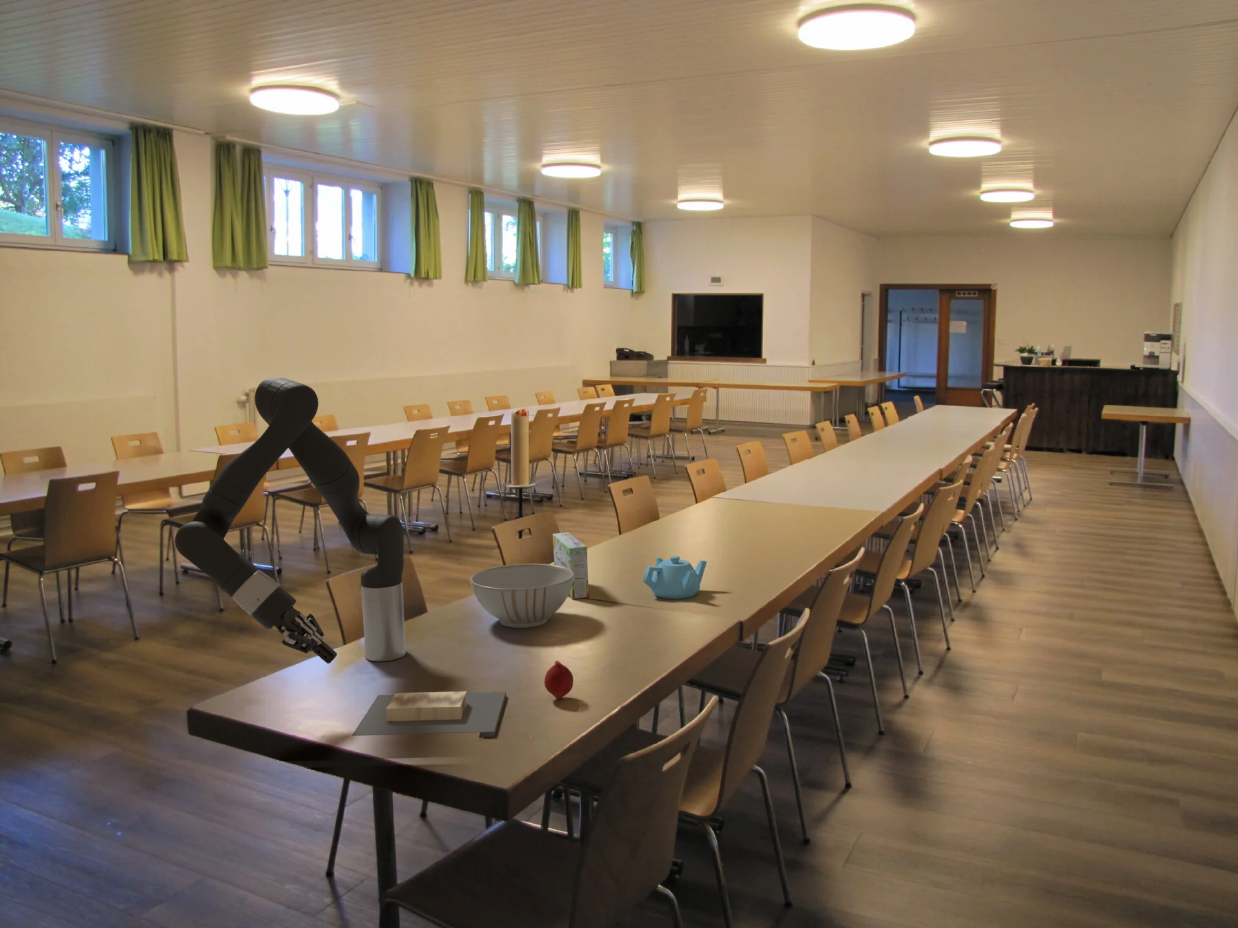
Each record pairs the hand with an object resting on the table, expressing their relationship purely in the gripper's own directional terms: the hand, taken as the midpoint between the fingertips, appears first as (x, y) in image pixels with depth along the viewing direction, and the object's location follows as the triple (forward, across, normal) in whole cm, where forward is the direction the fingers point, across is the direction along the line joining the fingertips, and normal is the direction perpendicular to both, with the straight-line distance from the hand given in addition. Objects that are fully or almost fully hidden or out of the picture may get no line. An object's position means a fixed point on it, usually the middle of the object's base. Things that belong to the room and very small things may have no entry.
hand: (333, 659), depth 183 cm
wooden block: (+14, 0, 0) cm, 14 cm away
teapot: (+61, +86, -40) cm, 112 cm away
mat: (+22, 0, -4) cm, 22 cm away
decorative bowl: (+31, +63, -12) cm, 71 cm away
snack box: (+39, +93, -19) cm, 102 cm away
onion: (+39, +8, -21) cm, 45 cm away
